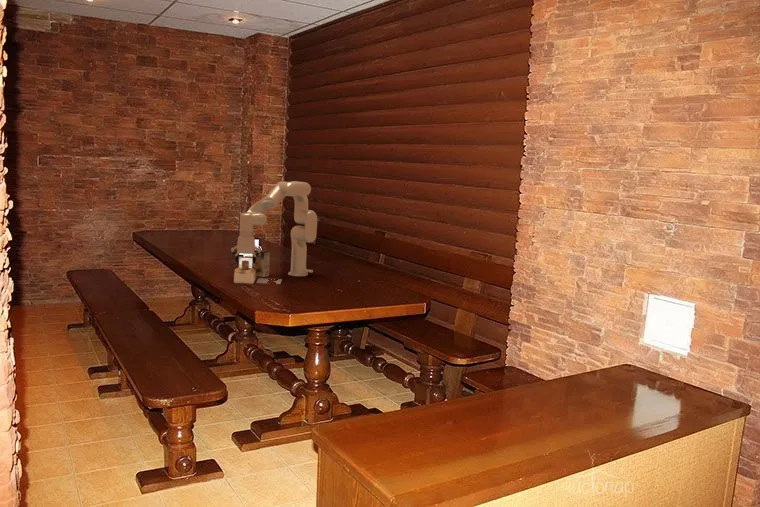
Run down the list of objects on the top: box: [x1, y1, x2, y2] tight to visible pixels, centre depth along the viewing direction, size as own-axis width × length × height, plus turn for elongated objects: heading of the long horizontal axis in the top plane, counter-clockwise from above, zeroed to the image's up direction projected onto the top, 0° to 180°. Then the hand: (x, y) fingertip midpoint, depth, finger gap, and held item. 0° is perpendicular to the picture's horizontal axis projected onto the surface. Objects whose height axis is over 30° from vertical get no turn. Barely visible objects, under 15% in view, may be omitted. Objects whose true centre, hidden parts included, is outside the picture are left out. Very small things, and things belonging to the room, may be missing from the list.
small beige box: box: [233, 272, 256, 285], centre depth 370 cm, size 11×11×6 cm
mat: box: [255, 277, 283, 285], centre depth 375 cm, size 14×14×1 cm
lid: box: [234, 260, 256, 274], centre depth 369 cm, size 12×12×6 cm
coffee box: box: [251, 249, 271, 278], centre depth 390 cm, size 9×6×16 cm
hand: (245, 263), depth 369 cm, fingers open, 9 cm apart
